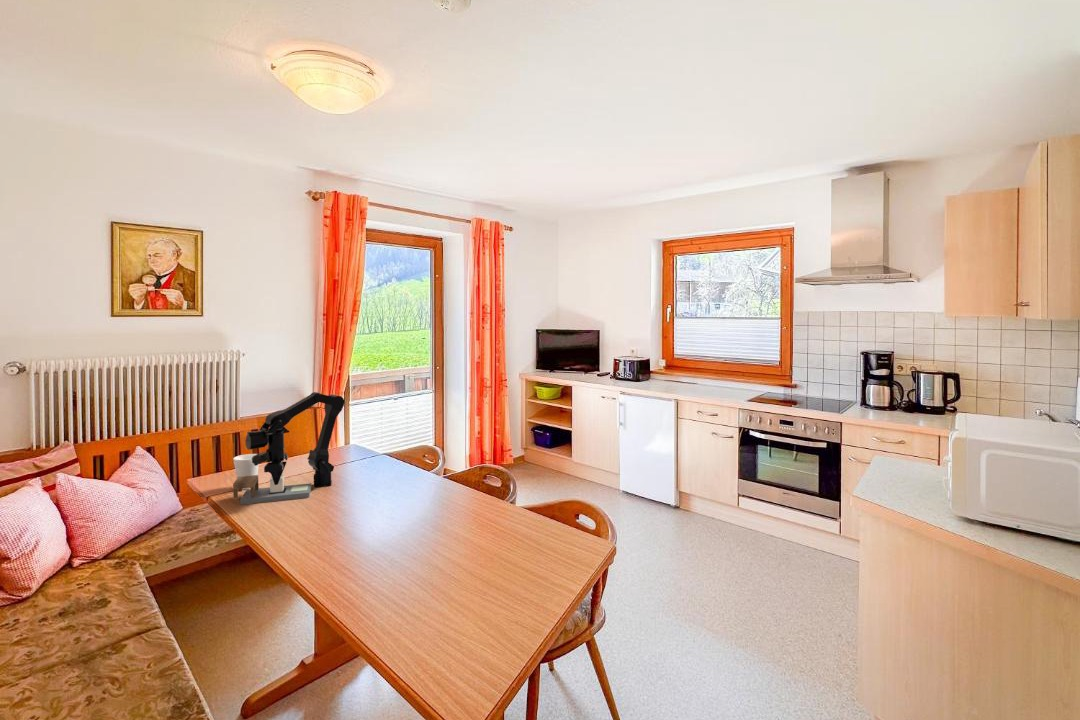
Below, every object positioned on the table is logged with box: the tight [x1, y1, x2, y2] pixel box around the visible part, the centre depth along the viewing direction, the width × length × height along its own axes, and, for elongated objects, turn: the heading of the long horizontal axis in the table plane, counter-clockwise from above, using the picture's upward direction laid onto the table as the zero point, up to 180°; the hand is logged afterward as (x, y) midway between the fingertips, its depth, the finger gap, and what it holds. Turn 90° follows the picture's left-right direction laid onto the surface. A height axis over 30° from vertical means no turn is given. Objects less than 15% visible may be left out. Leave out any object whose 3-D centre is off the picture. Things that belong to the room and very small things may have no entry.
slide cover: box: [232, 474, 259, 500], centre depth 193 cm, size 7×9×6 cm
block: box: [269, 474, 285, 493], centre depth 197 cm, size 4×4×6 cm
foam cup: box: [232, 453, 260, 490], centre depth 207 cm, size 10×9×13 cm
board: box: [240, 483, 313, 506], centre depth 197 cm, size 24×12×2 cm, turn 111°
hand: (277, 482), depth 197 cm, fingers closed on block, 4 cm apart
